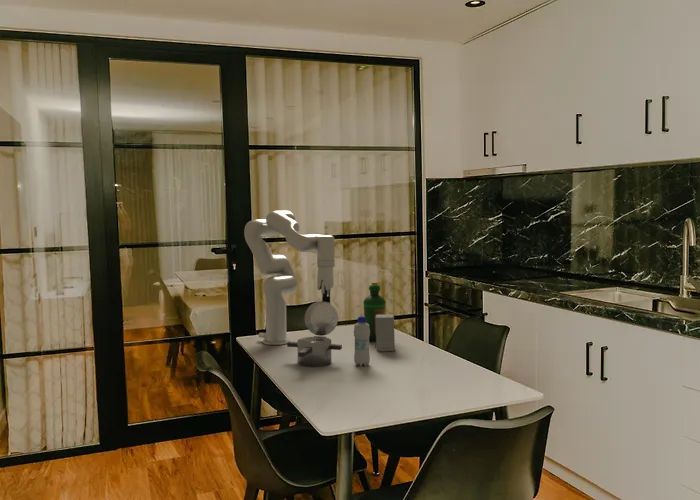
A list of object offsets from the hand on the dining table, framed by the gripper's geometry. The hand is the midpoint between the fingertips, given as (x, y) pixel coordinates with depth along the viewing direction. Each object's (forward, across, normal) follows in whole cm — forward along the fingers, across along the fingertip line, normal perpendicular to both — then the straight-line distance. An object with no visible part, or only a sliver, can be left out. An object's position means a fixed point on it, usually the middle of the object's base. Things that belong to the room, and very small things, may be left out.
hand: (326, 305), depth 267 cm
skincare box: (+21, -11, +24) cm, 34 cm away
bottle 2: (+21, -29, +15) cm, 39 cm away
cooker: (+21, +20, 0) cm, 29 cm away
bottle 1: (+21, +16, +20) cm, 33 cm away
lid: (+4, +8, 0) cm, 9 cm away
